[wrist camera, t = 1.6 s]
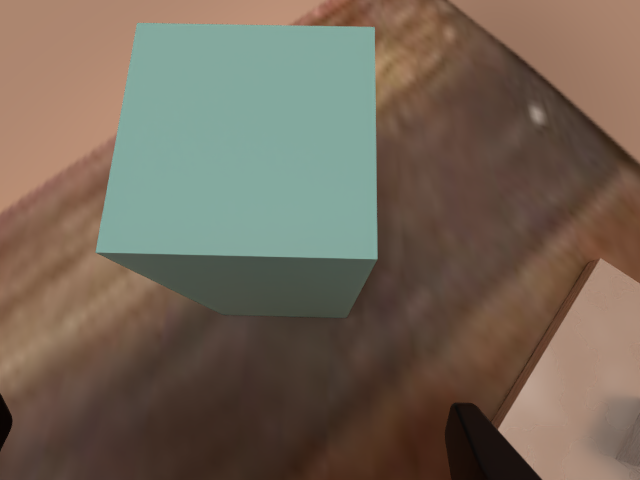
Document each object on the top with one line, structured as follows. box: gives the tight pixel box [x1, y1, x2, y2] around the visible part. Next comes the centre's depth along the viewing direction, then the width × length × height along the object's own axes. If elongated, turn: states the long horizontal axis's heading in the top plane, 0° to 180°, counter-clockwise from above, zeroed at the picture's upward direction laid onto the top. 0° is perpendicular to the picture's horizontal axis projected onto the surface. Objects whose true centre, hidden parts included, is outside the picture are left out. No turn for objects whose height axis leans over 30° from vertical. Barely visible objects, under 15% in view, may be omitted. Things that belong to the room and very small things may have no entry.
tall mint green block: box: [96, 23, 377, 318], centre depth 16 cm, size 6×6×12 cm
